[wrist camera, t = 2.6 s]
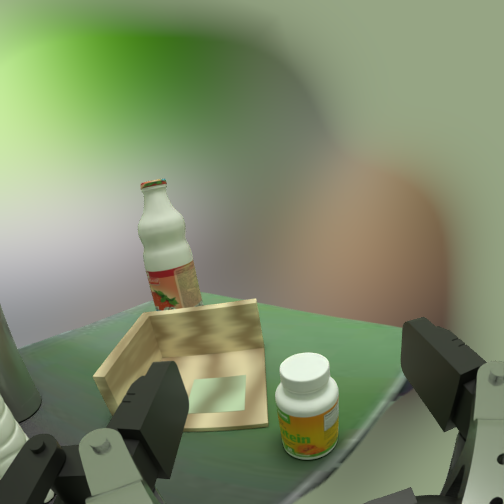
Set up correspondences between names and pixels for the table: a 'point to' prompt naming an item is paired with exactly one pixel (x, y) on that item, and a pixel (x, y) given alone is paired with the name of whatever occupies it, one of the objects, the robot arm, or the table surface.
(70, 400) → the table surface
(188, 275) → the fruit juice
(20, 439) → the water bottle
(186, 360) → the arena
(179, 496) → the table surface
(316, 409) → the supplement bottle
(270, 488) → the table surface
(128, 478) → the robot arm
